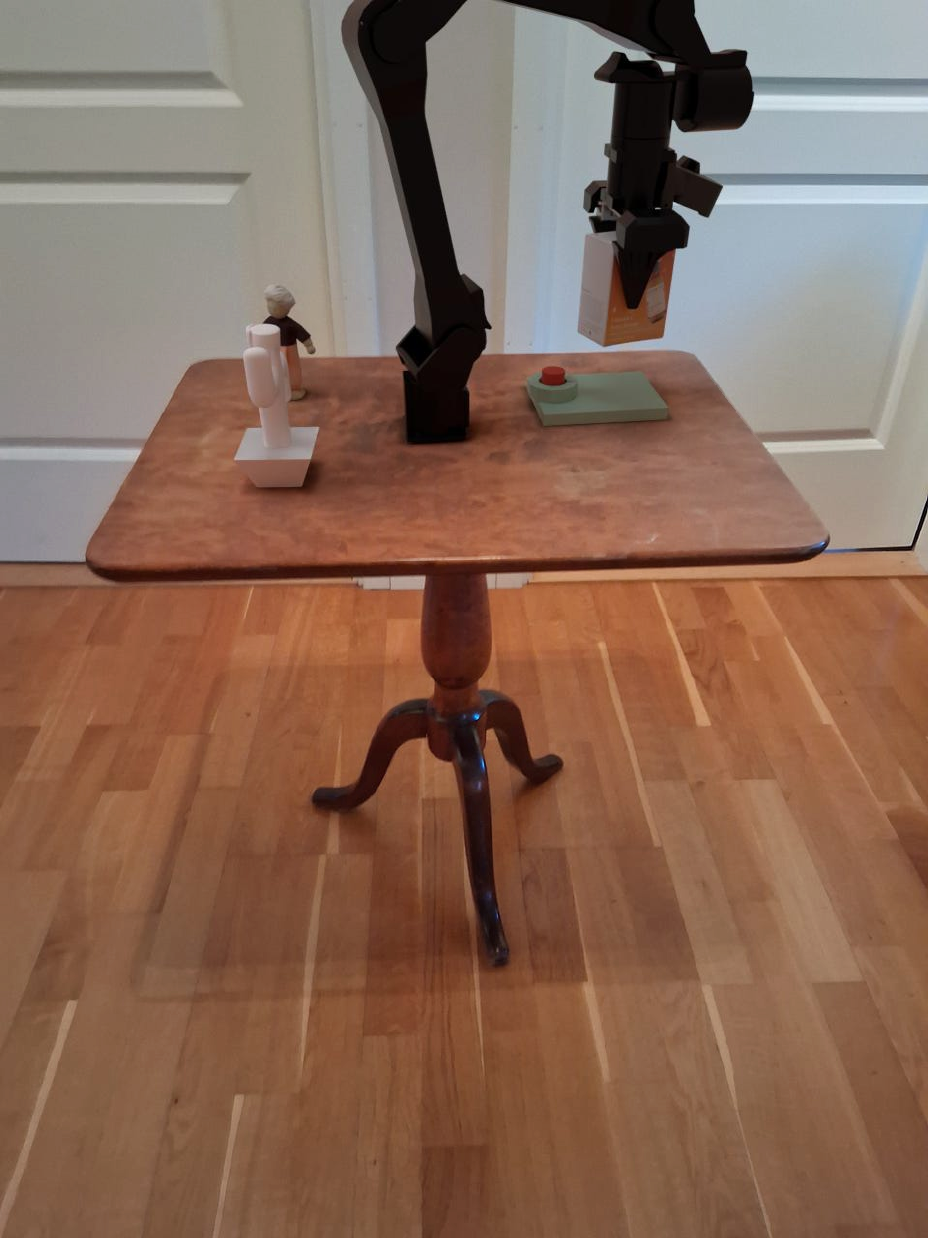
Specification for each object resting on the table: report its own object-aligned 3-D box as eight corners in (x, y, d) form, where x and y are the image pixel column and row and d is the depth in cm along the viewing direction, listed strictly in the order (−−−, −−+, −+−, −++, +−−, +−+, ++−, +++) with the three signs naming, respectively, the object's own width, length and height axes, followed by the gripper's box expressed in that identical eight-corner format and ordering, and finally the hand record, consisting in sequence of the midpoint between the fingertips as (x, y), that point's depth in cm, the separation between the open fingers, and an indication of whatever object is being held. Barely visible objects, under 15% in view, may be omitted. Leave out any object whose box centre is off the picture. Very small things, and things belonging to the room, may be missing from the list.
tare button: (543, 388, 100) (544, 374, 99) (539, 379, 102) (540, 366, 101) (566, 387, 101) (567, 373, 100) (561, 378, 103) (562, 365, 102)
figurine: (324, 455, 93) (308, 309, 84) (313, 499, 85) (295, 343, 76) (254, 456, 93) (231, 310, 84) (237, 500, 85) (210, 344, 76)
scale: (536, 426, 98) (537, 400, 97) (520, 388, 107) (520, 363, 105) (667, 419, 100) (670, 393, 98) (640, 382, 108) (642, 357, 107)
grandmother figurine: (254, 398, 105) (237, 287, 98) (266, 386, 108) (251, 278, 101) (315, 403, 104) (303, 292, 96) (327, 391, 107) (316, 282, 99)
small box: (603, 349, 95) (613, 245, 89) (575, 333, 99) (583, 232, 93) (665, 338, 98) (679, 236, 91) (636, 322, 102) (647, 224, 96)
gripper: (756, 149, 80) (726, 324, 89) (690, 119, 95) (671, 272, 104) (634, 152, 79) (617, 328, 88) (587, 121, 94) (577, 275, 103)
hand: (623, 298), depth 96 cm, fingers closed on small box, 6 cm apart
